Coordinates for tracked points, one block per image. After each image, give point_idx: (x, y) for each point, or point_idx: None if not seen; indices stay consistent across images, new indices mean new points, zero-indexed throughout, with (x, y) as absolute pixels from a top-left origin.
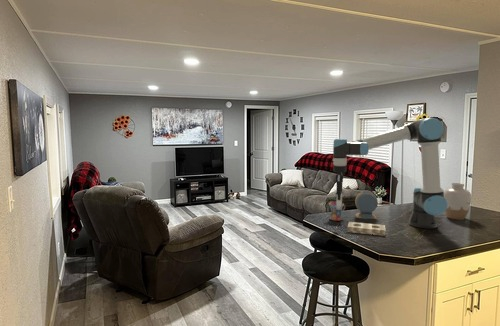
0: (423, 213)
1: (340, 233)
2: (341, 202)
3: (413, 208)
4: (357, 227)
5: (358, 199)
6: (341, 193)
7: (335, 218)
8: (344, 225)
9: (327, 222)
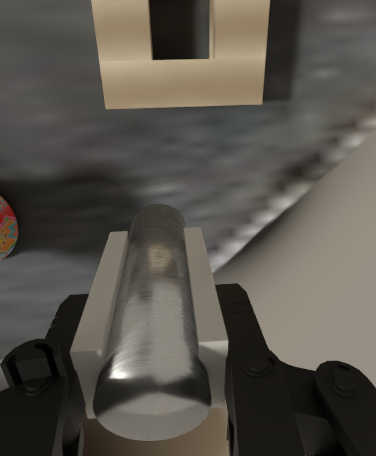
0: None
1: (297, 143)
2: (190, 247)
3: None
4: (261, 14)
5: None
6: (178, 362)
7: (7, 224)
8: (93, 141)
9: (78, 255)
